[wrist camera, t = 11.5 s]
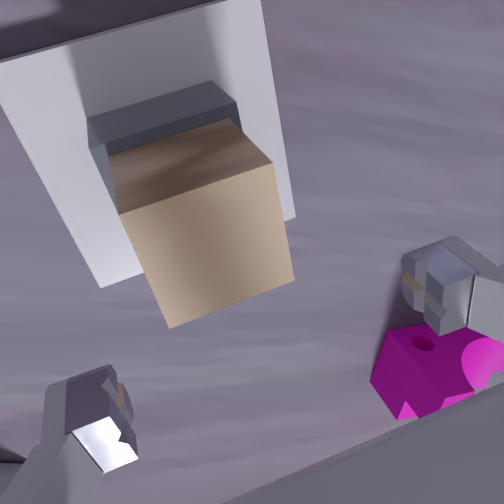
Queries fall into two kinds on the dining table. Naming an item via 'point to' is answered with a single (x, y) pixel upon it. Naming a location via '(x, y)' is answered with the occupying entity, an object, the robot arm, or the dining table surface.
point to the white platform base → (138, 110)
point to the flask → (7, 474)
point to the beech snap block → (203, 219)
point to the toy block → (433, 368)
